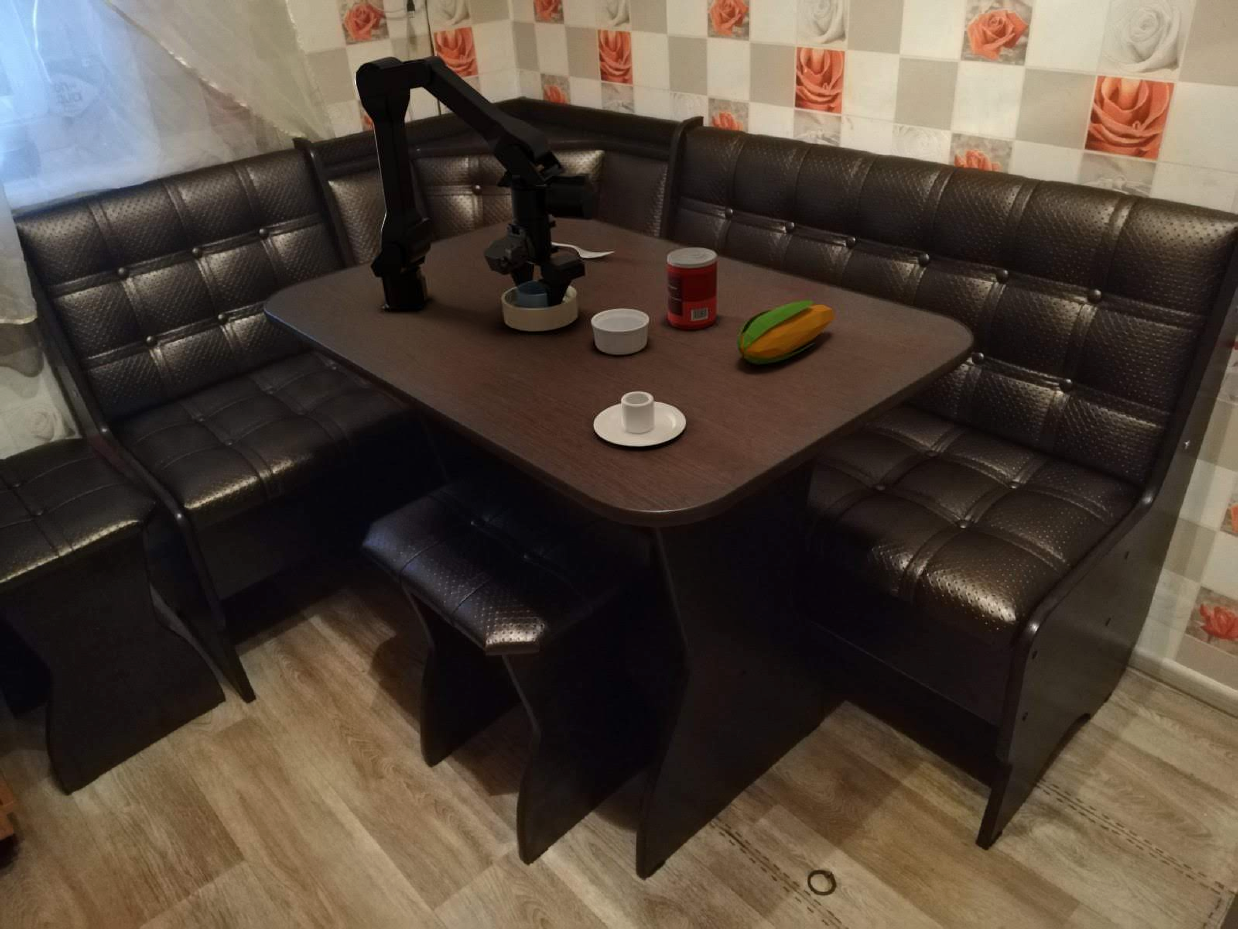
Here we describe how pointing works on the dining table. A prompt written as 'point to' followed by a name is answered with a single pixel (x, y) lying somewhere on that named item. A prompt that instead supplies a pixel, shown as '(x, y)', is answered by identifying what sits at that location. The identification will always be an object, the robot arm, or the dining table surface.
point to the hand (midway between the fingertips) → (540, 308)
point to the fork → (584, 253)
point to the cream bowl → (539, 312)
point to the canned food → (692, 288)
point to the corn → (782, 331)
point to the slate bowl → (531, 295)
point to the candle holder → (639, 421)
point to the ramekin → (620, 331)
